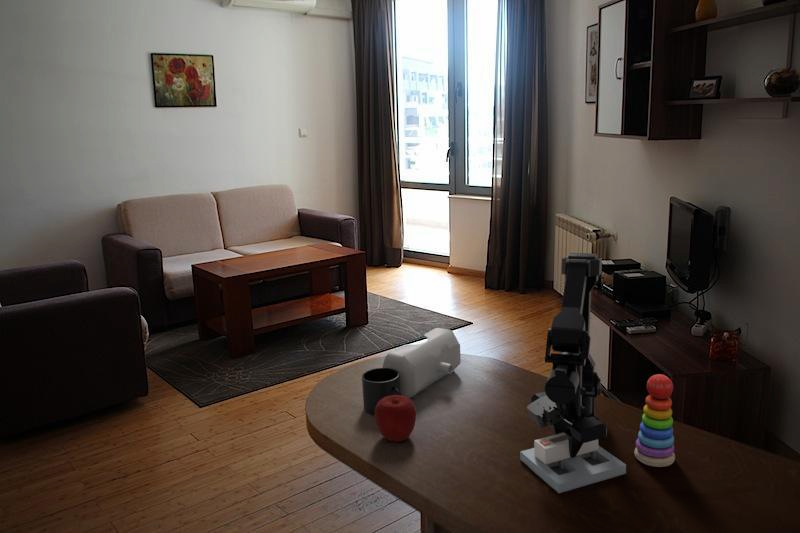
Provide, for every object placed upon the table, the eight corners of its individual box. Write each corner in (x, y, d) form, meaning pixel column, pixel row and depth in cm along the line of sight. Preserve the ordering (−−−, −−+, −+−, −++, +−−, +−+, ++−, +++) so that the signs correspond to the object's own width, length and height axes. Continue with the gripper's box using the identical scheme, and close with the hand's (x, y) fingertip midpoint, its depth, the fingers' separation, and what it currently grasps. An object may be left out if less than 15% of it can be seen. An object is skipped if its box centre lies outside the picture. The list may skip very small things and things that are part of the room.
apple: (425, 440, 154) (423, 399, 152) (389, 452, 149) (386, 411, 147) (403, 424, 162) (401, 385, 160) (368, 436, 157) (366, 396, 155)
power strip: (586, 448, 146) (586, 425, 144) (597, 456, 142) (598, 433, 141) (534, 462, 141) (534, 438, 140) (545, 471, 138) (545, 447, 136)
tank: (424, 409, 170) (422, 362, 167) (374, 395, 179) (372, 351, 176) (475, 375, 189) (474, 332, 186) (428, 364, 198) (426, 323, 196)
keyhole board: (583, 443, 149) (583, 434, 149) (625, 473, 137) (626, 464, 136) (520, 460, 144) (520, 451, 143) (558, 493, 131) (558, 484, 130)
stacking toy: (655, 472, 136) (659, 386, 132) (626, 455, 143) (628, 373, 139) (683, 461, 140) (688, 377, 135) (652, 445, 147) (656, 364, 142)
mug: (388, 423, 163) (386, 388, 161) (356, 409, 172) (354, 375, 169) (416, 410, 169) (414, 376, 167) (383, 396, 178) (381, 364, 176)
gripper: (509, 374, 143) (509, 441, 147) (560, 409, 126) (560, 484, 130) (553, 364, 147) (553, 430, 151) (609, 397, 130) (607, 470, 134)
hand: (566, 452), depth 141 cm, fingers closed on power strip, 4 cm apart
